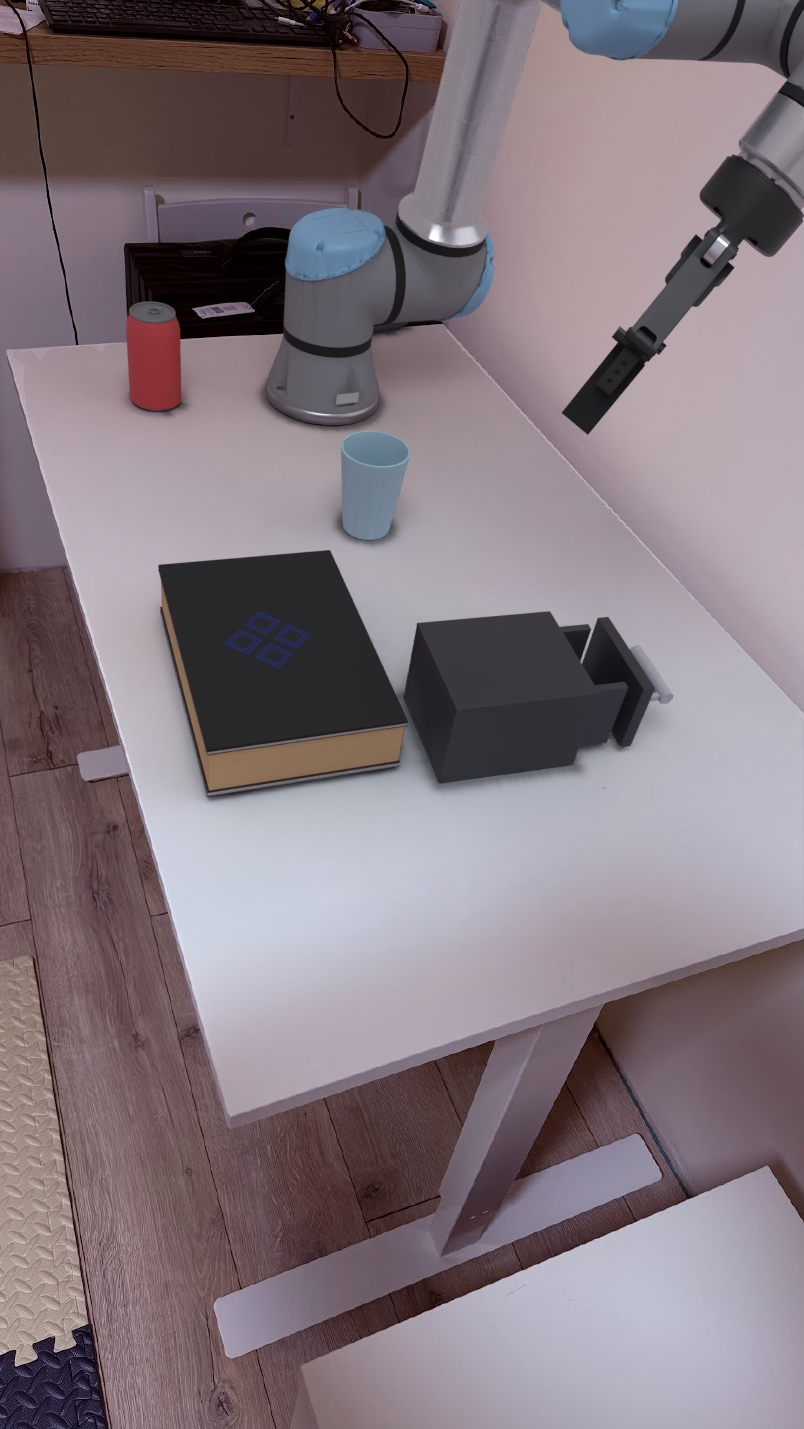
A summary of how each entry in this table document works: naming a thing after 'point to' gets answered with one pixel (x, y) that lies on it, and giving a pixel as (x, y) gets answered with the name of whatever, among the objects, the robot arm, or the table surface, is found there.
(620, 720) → the drawer
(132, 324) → the beer can
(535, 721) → the cabinet
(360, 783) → the table surface
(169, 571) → the book
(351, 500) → the cup
